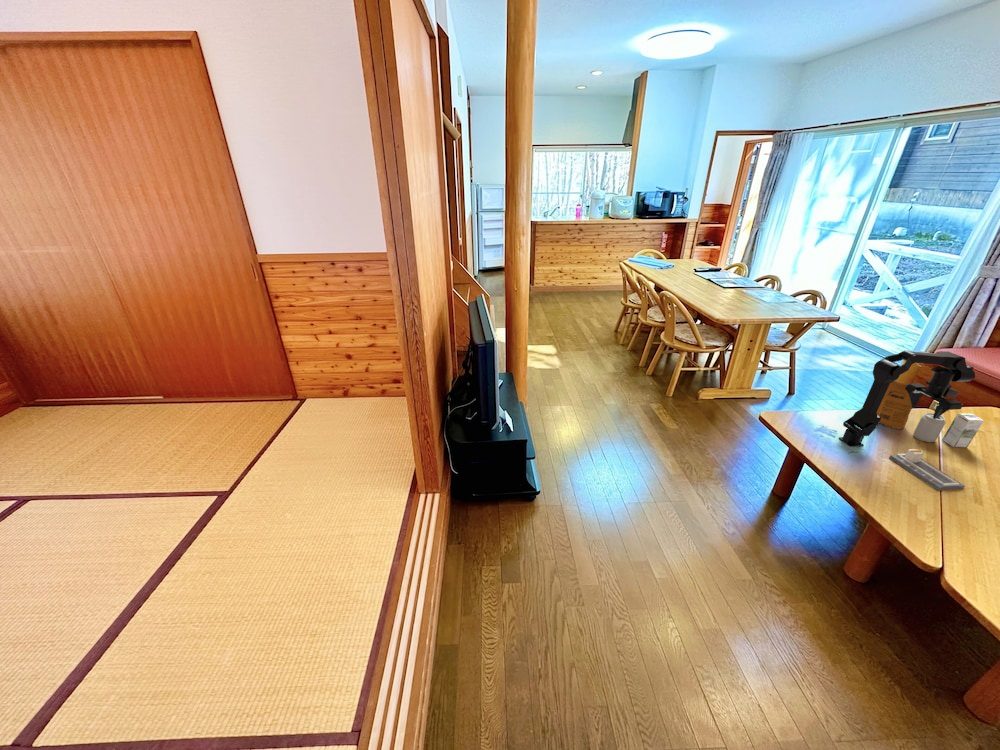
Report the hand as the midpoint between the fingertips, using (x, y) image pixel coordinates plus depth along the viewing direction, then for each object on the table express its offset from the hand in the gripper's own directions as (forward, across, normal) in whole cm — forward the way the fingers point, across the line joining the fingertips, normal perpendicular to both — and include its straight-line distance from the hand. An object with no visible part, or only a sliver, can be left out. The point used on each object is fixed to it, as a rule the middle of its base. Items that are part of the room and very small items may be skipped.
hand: (923, 413), depth 173 cm
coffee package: (+14, +14, -3) cm, 21 cm away
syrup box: (+14, -5, -16) cm, 22 cm away
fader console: (+14, -22, +16) cm, 30 cm away
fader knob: (+13, -16, +16) cm, 26 cm away
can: (+14, 0, -7) cm, 16 cm away
